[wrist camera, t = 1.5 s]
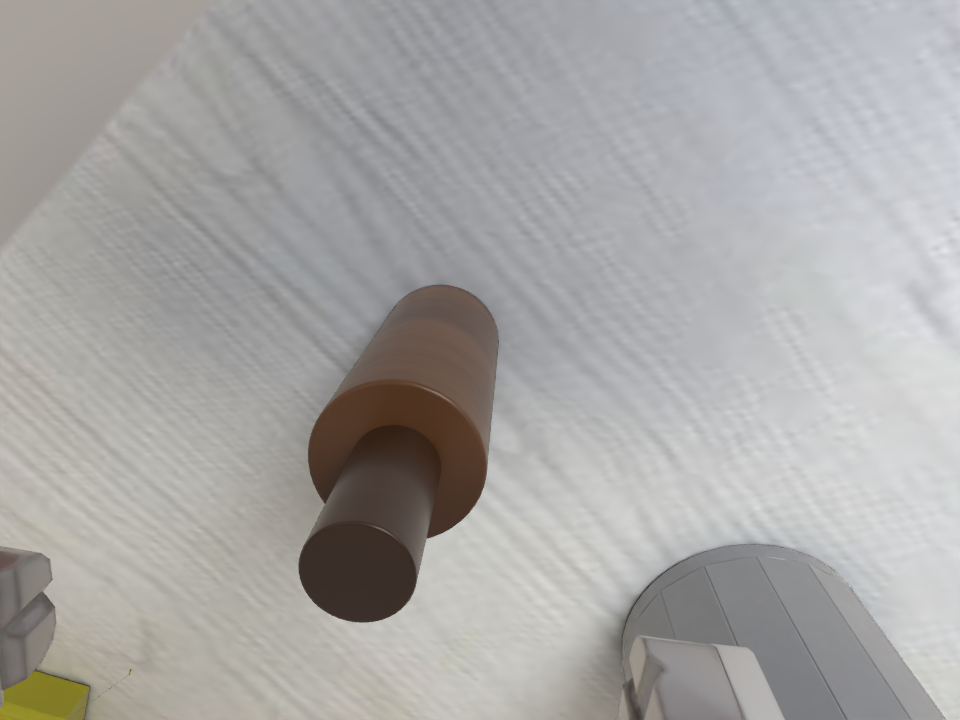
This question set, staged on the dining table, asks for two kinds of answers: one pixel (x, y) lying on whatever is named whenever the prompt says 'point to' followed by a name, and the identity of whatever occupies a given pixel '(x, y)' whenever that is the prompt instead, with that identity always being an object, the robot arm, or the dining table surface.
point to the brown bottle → (400, 452)
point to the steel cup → (784, 632)
